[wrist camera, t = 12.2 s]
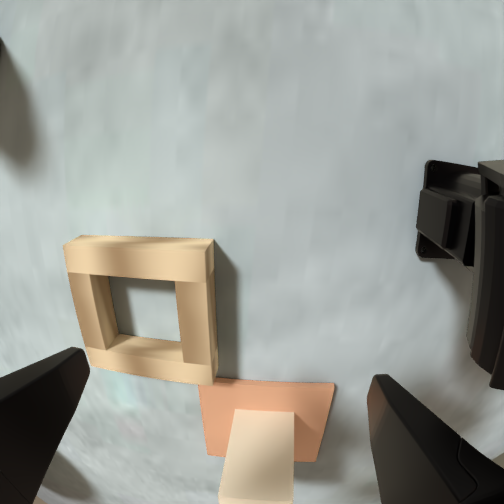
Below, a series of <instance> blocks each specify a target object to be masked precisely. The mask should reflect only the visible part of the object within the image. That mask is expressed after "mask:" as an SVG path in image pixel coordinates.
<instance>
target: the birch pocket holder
mask: <svg viewBox="0 0 504 504" xmlns="http://www.w3.org/2000/svg"><path fill="white" fill-rule="evenodd" d="M63 249H64V256H65V261H66V267H67V272H68V277H69V282H70V287H71V292H72V296H73V301H74V305H75V309H76V314H77V318H78V322H79V325H80V329H81V333H82V337H83V340H84V344H85V347H86V351H87V354H88V357H89V361H90V364H91V366H94V367H98V368H103V369H107V370H112V371H117V372H122V373H127V374H133V375H138V376H144V377H149V378H155V379H162V380H168V381H175V382H182V383H190V384H198V385H206V386H213V384H214V380H215V377H216V373H217V370H218V366H219V362H218V344H217V324H216V301H215V274H214V239H197V238H167V237H135V236H98V235H81V236H79V237H77V238H75V239H73V240H71V241H70V242H68V243H66V244H64V245H63ZM108 276H117V277H130V278H142V279H156V280H170V281H175V290H176V300H177V310H178V320H179V329H180V338H181V342H176V341H168V340H160V339H152V338H144V337H137V336H130V335H124V334H119V332H118V327H117V322H116V317H115V312H114V307H113V301H112V296H111V290H110V284H109V278H108Z"/></svg>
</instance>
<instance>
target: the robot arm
mask: <svg viewBox="0 0 504 504" xmlns="http://www.w3.org/2000/svg"><path fill="white" fill-rule="evenodd" d="M432 164H434V166H435V169H434V170H433V171H432V170H431V165H432ZM416 228H417V230H418V235H417V242H416V248H415V250H416V253H417V254H418V255H419V256H420V257H424V258H446V259H456V260H458V261H459V262H460V263H462V264H463V265H464V266H465V267H467V268H468V269H469V270H470V271H472V272H473V273H474V274H473V287H472V297H471V306H470V314H469V322H468V329H467V339H468V342H469V346H470V348H471V353H470V355H471V357H472V358H473V360H474V361H475V362H476V363H477V364H478V365H479V366H480V367H481V368H483V369H484V370H485V371H487V372H488V373H489V374H491V375H492V377H491V380H490V383H489V386H490V387H491V388H495V389H500V390H504V160H495V161H481V162H478V168H476V167H471V166H466V165H460V164H455V163H449V162H443V161H436V160H429V161H427V162H426V164H425V173H424V185H423V189H422V190H421V191H420V199H419V208H418V216H417V224H416ZM422 247H425V250H424V251H423V252H421V248H422ZM89 374H90V368H89V364H88V361H87V358H86V355H85V352H84V350H83V349H81V348H76V347H70V348H68V349H66V350H63V351H61V352H59V353H57V354H54V355H52V356H50V357H47V358H45V359H43V360H40V361H38V362H36V363H34V364H31V365H29V366H27V367H24V368H22V369H20V370H17V371H15V372H13V373H10V374H8V375H6V376H3V377H1V378H0V504H33V502H34V499H35V497H36V495H37V492H38V490H39V488H40V485H41V483H42V481H43V478H44V476H45V474H46V472H47V469H48V467H49V465H50V463H51V461H52V458H53V456H54V454H55V452H56V450H57V448H58V446H59V443H60V441H61V439H62V437H63V435H64V433H65V431H66V429H67V427H68V425H69V423H70V421H71V419H72V417H73V415H74V413H75V411H76V408H77V406H78V403H79V401H80V398H81V395H82V393H83V390H84V388H85V385H86V382H87V380H88V377H89ZM367 407H368V418H369V430H370V442H371V449H372V454H373V459H374V464H375V469H376V475H377V480H378V486H379V491H380V497H381V503H382V504H504V469H503V468H502V467H500V466H499V465H497V464H496V463H494V462H493V461H491V460H490V459H489V458H487V457H486V456H484V455H483V454H482V453H480V452H479V451H478V450H477V449H475V448H474V447H473V446H472V445H470V444H469V443H468V442H467V441H466V440H464V439H463V438H461V436H460V435H458V434H457V433H456V432H455V431H454V430H453V429H451V428H450V427H449V426H448V425H447V424H445V423H444V422H443V421H442V420H441V419H440V418H438V417H437V416H436V415H435V414H434V413H433V412H431V411H430V410H429V409H428V408H427V407H426V406H424V405H423V404H422V403H421V402H420V401H419V400H417V399H416V398H415V397H414V396H413V395H411V394H410V393H409V392H408V391H407V390H406V389H404V388H403V387H402V386H401V385H400V384H399V383H397V382H396V381H395V380H394V379H393V378H392V377H390V376H389V375H388V374H376V375H374V377H373V379H372V382H371V385H370V389H369V392H368V395H367Z"/></svg>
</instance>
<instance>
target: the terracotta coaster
mask: <svg viewBox="0 0 504 504" xmlns="http://www.w3.org/2000/svg"><path fill="white" fill-rule="evenodd" d="M198 388H199V397H200V405H201V412H202V420H203V427H204V434H205V441H206V447H207V454H208V455H212V456H220V457H226V453H227V448H228V443H229V438H230V433H231V428H232V423H233V418H234V412H235V409H242V410H256V411H275V412H294V462H316V458H317V455H318V451H319V448H320V444H321V440H322V437H323V433H324V429H325V425H326V421H327V417H328V413H329V409H330V405H331V401H332V396H333V392H334V383H294V382H270V381H253V380H240V379H228V378H217V377H215V380H214V384H213V386H206V385H198Z"/></svg>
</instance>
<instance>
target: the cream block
mask: <svg viewBox="0 0 504 504" xmlns="http://www.w3.org/2000/svg"><path fill="white" fill-rule="evenodd" d="M293 486H294V412H275V411H256V410H242V409H235V412H234V418H233V423H232V428H231V433H230V438H229V443H228V448H227V453H226V458H225V463H224V468H223V473H222V478H221V483H220V488H219V493H218V499H219V504H293Z"/></svg>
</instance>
